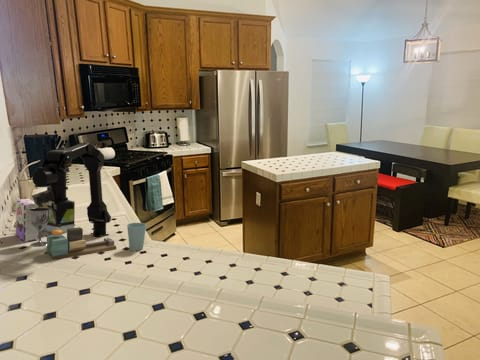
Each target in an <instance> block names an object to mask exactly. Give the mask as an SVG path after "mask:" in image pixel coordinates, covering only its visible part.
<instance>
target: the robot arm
mask: <svg viewBox="0 0 480 360" xmlns="http://www.w3.org/2000/svg"><path fill="white" fill-rule="evenodd" d="M78 157H80V159H82V161H83V166H84V167H85V169H86V170H87V171H88V178H89V179H88V180H89V193H90V194H89V195H90V203H89V205H88V206H86V210H87V211H86V213H87V214H86V215H87V218H88V222H89V223H91V222H92V224H93V225H92V232H93V233H91V232H90V233H91V234H90V235H92V234H93V235H92V236H94V237H100V236H99V235H103V236H106V235H105V234H106V232H107V224H108V223H111V222H112V221H111V220H112V216H111V214H110V213H109V211H108V206H107V205H106V204H105V202H104V200H103V190H102V189H103V188H102V179H101V178H102V175H101V172H102V171H101V170H102V168H103V167H104V165H105V163H104V161H105V155H104V154H103V153H102V151H101V150H99V149H97V148H96V147H94V146H93V145H92V144H91V143H89V142H87V143H86V142H79V143H77V144H76V145H73V146H71V147H68V148H67V147H66V149H53V150H49V151H47V153H46V155H45V157H44V159H43V161H42V164H41V165H40V166H39V167H37V171H35V172H34V173H33V175H32V179H31V180H32V182H33V184H34V185H35V186H36V187H39V188H42V187H46V190H43V191H41V192H38V193H34V194H33V195H32V196H31V198H32V201H34V203H35V204H37V205H40V204H42V203H46V202H49V205H47V207H49V208H50V209H51V210H52V212H53V215H54V219H55V222H56V224H60V222H61V220H62V218H63V216H64V215H65V213H66V211H67V209H74V203H73V202H72V201H73V200H70V199H69V197H67V191H68V190H69V187H68V186H67V172H70V168H68V167H67V166H69V165H70V164H71V163H72V160H74V159H77V158H78Z"/></svg>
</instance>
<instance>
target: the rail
mask: <svg viewBox="0 0 480 360" xmlns="http://www.w3.org/2000/svg"><path fill="white" fill-rule="evenodd" d="M46 242H47V245H46V250H45V251H46V254H47V255H49V256H50V258H51V259H53V260H54V259H56V260H61V259H65V258H67V259H68V258H72V257H78V256H84V255H89V254H95V253H102V252H107V251H113V250H117V245H115V240H113V239H112V238H110V237H105V238H103V240H101V241H94V242H88V243H87V242H86V247H85V249H80V250H74V251H68V239H67V236H66V237H65V236H64V235H63V234H62V235H58V236H54V235H52V234H48V235H46Z"/></svg>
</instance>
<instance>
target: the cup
mask: <svg viewBox="0 0 480 360" xmlns="http://www.w3.org/2000/svg"><path fill="white" fill-rule="evenodd" d="M126 226H127V235H128V236H127V237H128V248H129V250H130V251H136V252H137V251H142V250H143V249H144V245H145V237H146V228H147V224H146V223H144V222H130V223H128V224H127V225H126Z"/></svg>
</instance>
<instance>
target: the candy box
mask: <svg viewBox="0 0 480 360" xmlns="http://www.w3.org/2000/svg"><path fill="white" fill-rule="evenodd" d="M14 203H15V235H16V236H17V237H18V238H19V239H20V240H21V241H23V243H27V242H28V243H29V242H37V241H39V234H38V230H37V229H36V228H35V227H34V226H33V225H32V224H31V222H30V219H29V209H31V208H37V207H39V205H37V204H35V203H34V201H33V199H31V198H21V199H19V198H18V199H15V202H14Z"/></svg>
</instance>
